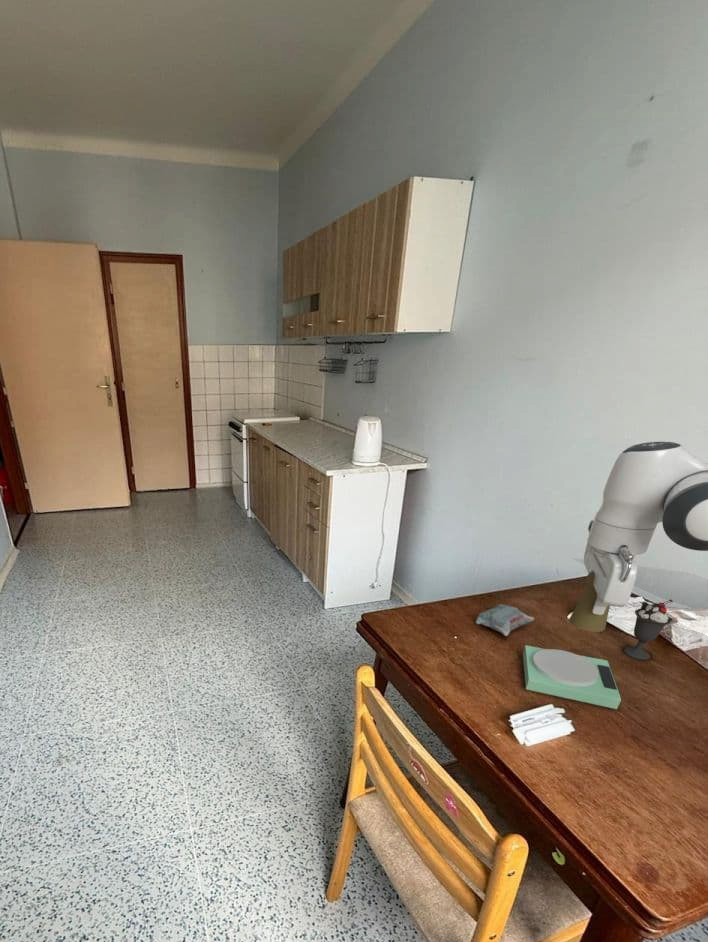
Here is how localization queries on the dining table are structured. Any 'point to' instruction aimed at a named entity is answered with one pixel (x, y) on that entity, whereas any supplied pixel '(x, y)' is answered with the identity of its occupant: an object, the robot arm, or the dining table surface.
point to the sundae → (648, 627)
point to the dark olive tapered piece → (588, 610)
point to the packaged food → (503, 618)
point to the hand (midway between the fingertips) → (593, 605)
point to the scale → (570, 676)
